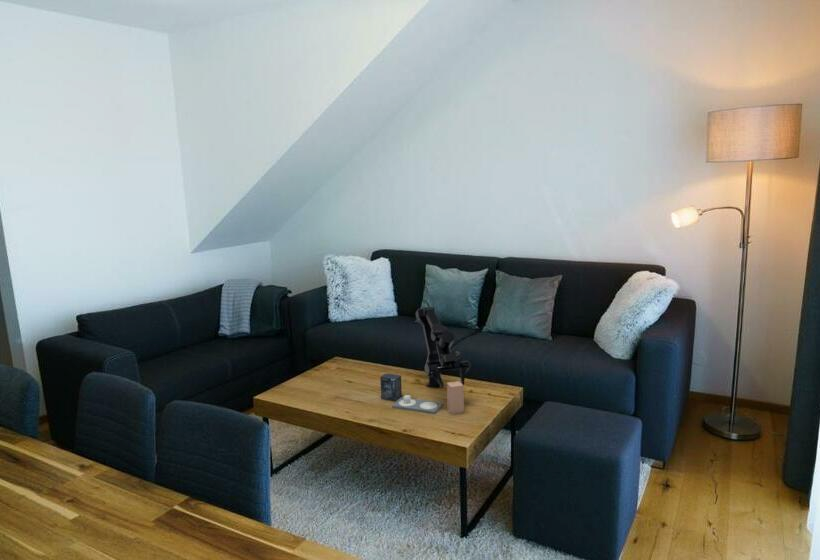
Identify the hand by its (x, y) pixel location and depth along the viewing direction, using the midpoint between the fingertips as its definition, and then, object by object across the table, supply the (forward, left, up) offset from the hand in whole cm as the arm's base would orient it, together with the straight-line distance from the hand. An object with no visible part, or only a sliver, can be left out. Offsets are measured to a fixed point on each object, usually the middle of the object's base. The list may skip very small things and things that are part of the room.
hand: (453, 386), depth 247 cm
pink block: (+2, +2, -10) cm, 10 cm away
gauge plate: (+3, -15, -10) cm, 19 cm away
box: (-2, -30, -10) cm, 32 cm away
